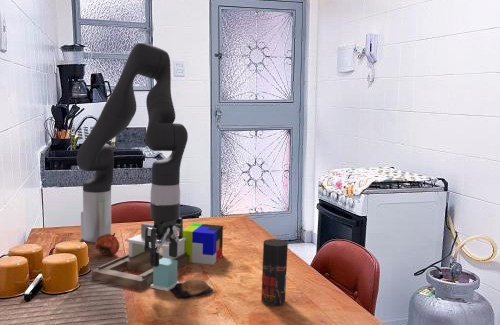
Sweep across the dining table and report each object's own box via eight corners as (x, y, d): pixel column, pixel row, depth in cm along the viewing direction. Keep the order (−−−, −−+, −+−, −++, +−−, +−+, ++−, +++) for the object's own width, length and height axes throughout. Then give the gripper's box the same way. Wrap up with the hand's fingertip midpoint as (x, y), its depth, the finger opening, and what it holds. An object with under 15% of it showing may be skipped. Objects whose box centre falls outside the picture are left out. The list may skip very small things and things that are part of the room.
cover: (127, 256, 142) (127, 226, 140) (147, 247, 151) (147, 219, 150) (167, 263, 136) (168, 232, 135) (185, 254, 145) (186, 224, 144)
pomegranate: (111, 267, 145) (130, 242, 151) (98, 252, 141) (117, 226, 147) (96, 265, 149) (115, 240, 155) (82, 250, 145) (102, 225, 151)
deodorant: (260, 296, 121) (262, 238, 120) (283, 296, 122) (285, 239, 120) (262, 306, 116) (264, 246, 114) (286, 306, 116) (289, 246, 114)
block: (167, 287, 123) (168, 265, 123) (153, 284, 125) (153, 262, 124) (177, 282, 127) (177, 260, 127) (162, 279, 129) (162, 257, 128)
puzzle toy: (212, 266, 144) (213, 233, 143) (181, 262, 146) (182, 230, 145) (222, 256, 154) (222, 225, 152) (192, 253, 156) (193, 223, 155)
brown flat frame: (91, 278, 129) (91, 268, 129) (146, 253, 152) (146, 245, 152) (140, 289, 123) (141, 279, 123) (190, 261, 146) (190, 252, 146)
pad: (150, 287, 125) (150, 285, 125) (161, 280, 130) (162, 278, 130) (168, 291, 123) (168, 288, 123) (179, 284, 128) (179, 282, 128)
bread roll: (203, 284, 130) (203, 271, 129) (218, 295, 123) (218, 281, 122) (166, 291, 124) (166, 278, 123) (180, 303, 117) (180, 288, 117)
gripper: (168, 194, 131) (167, 251, 133) (136, 203, 118) (135, 267, 120) (192, 197, 128) (190, 256, 131) (162, 207, 115) (160, 272, 118)
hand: (164, 261), depth 126 cm, fingers open, 8 cm apart
